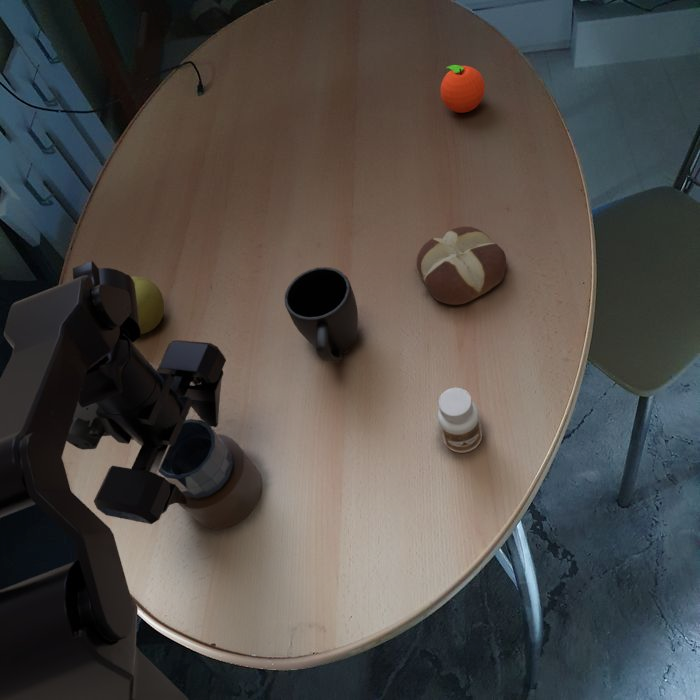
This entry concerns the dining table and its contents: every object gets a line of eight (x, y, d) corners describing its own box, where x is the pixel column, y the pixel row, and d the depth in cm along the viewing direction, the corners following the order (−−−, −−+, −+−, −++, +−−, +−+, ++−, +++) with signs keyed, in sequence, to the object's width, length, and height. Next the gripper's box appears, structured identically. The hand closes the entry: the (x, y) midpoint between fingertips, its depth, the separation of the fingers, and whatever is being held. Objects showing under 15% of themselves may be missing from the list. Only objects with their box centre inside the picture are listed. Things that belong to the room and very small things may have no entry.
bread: (438, 317, 86) (432, 293, 82) (410, 258, 93) (404, 233, 89) (520, 287, 86) (518, 261, 82) (486, 230, 93) (483, 203, 89)
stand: (247, 535, 75) (226, 515, 70) (178, 521, 78) (154, 501, 73) (272, 462, 80) (254, 438, 75) (206, 452, 83) (185, 429, 78)
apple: (183, 313, 97) (161, 281, 92) (143, 352, 95) (117, 322, 89) (153, 293, 101) (129, 261, 96) (113, 330, 99) (87, 299, 93)
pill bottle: (449, 458, 75) (440, 425, 69) (438, 425, 77) (429, 390, 71) (487, 447, 74) (482, 412, 68) (475, 414, 77) (469, 378, 71)
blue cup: (221, 504, 71) (200, 483, 67) (166, 494, 73) (142, 473, 69) (243, 446, 75) (224, 423, 70) (190, 439, 77) (168, 415, 73)
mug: (306, 394, 84) (282, 351, 77) (306, 319, 91) (284, 273, 84) (370, 384, 83) (352, 339, 75) (365, 308, 90) (348, 260, 82)
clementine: (430, 107, 111) (424, 69, 106) (464, 87, 112) (459, 47, 107) (461, 127, 107) (456, 88, 101) (495, 106, 108) (492, 66, 102)
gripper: (100, 300, 68) (168, 382, 80) (4, 469, 58) (99, 532, 71) (195, 307, 64) (252, 392, 77) (109, 488, 55) (190, 552, 67)
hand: (198, 462), depth 73 cm, fingers open, 9 cm apart
